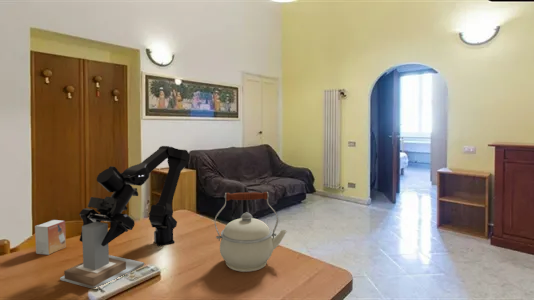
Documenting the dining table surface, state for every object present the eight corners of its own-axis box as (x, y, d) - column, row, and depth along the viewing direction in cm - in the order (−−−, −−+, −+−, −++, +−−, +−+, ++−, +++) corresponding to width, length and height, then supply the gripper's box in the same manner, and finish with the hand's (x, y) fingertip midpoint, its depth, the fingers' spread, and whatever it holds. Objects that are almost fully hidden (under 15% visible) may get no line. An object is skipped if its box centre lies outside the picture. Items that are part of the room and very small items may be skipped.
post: (97, 260, 102) (96, 221, 101) (108, 263, 100) (107, 223, 99) (83, 267, 98) (81, 226, 97) (95, 270, 96) (93, 228, 95)
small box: (48, 255, 114) (47, 227, 114) (35, 254, 116) (34, 225, 115) (66, 247, 122) (65, 220, 121) (54, 245, 123) (53, 219, 123)
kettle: (214, 277, 99) (214, 199, 97) (214, 253, 117) (214, 187, 115) (292, 272, 103) (293, 197, 101) (281, 250, 121) (281, 186, 119)
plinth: (109, 257, 113) (108, 247, 113) (144, 264, 108) (144, 254, 107) (60, 280, 97) (59, 268, 96) (98, 290, 91) (98, 278, 91)
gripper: (83, 184, 104) (51, 226, 95) (126, 188, 97) (96, 235, 88) (104, 202, 112) (76, 243, 103) (145, 207, 105) (120, 252, 96)
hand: (91, 243), depth 97 cm, fingers open, 9 cm apart
